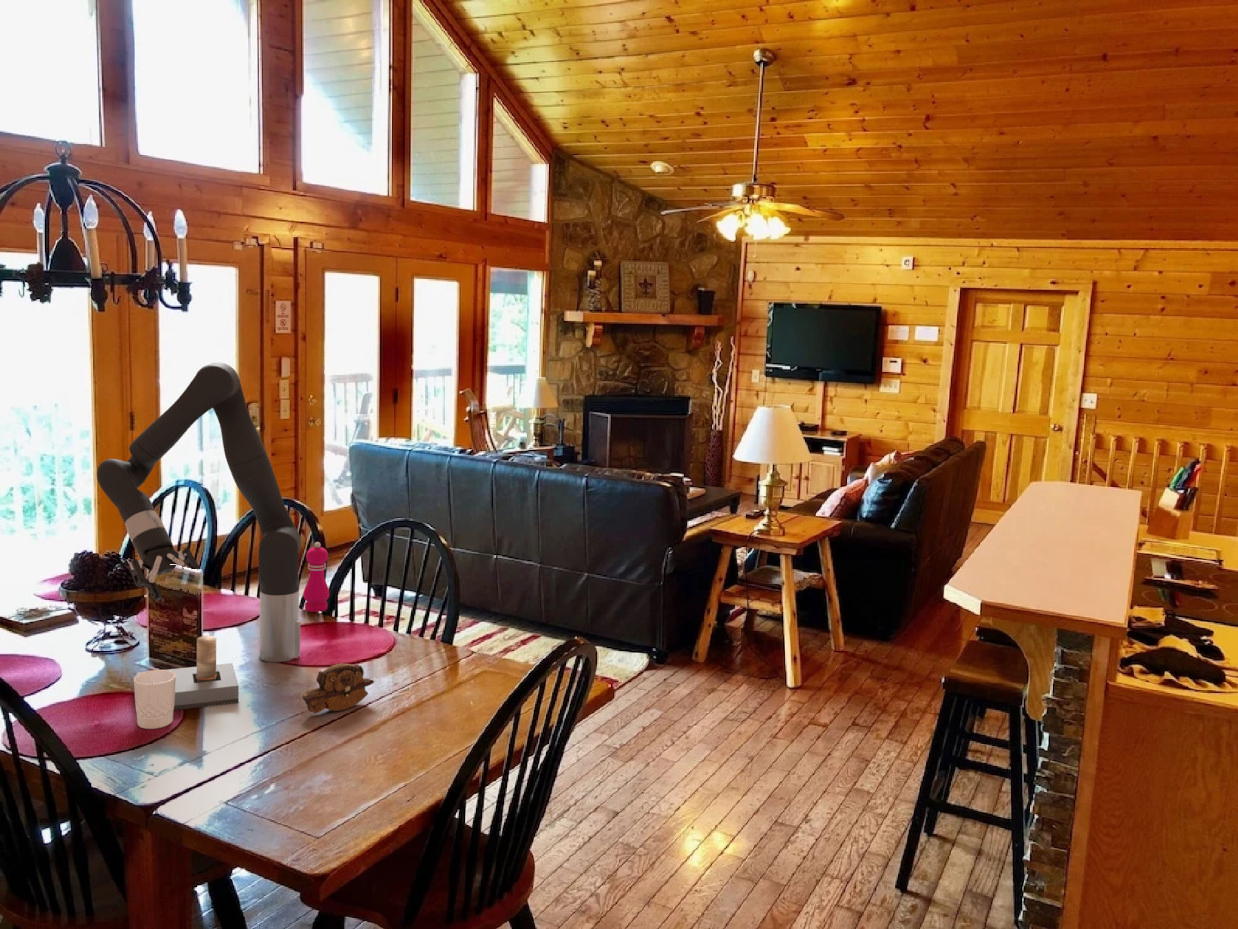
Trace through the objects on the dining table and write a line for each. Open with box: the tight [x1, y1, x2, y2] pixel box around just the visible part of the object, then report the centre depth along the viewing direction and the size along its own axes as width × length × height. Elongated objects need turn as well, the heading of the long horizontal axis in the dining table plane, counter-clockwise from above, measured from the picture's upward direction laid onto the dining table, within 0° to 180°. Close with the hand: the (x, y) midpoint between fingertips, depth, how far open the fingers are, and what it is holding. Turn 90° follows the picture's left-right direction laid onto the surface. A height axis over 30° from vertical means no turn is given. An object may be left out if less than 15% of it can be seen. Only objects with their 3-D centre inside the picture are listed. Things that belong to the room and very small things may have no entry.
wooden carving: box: [302, 663, 374, 714], centre depth 212 cm, size 16×5×10 cm, turn 140°
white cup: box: [133, 669, 176, 730], centre depth 200 cm, size 8×8×10 cm
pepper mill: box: [302, 541, 330, 613], centre depth 277 cm, size 7×7×20 cm
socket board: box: [136, 662, 240, 711], centre depth 214 cm, size 20×14×4 cm
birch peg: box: [196, 635, 217, 683], centre depth 215 cm, size 4×4×12 cm
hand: (177, 594), depth 219 cm, fingers open, 8 cm apart
